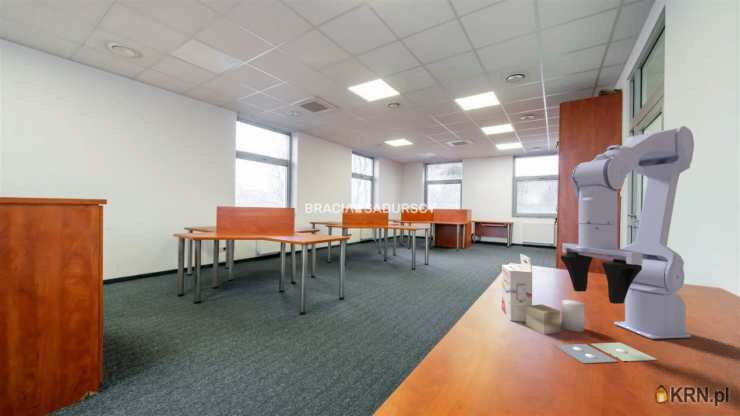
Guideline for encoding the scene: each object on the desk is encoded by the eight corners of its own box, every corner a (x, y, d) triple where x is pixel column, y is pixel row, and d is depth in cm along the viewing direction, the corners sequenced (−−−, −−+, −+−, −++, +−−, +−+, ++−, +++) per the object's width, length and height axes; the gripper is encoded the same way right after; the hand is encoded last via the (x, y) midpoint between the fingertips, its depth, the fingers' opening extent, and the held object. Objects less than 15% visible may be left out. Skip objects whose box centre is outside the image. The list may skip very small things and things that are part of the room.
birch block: (542, 324, 65) (542, 304, 65) (560, 332, 61) (560, 310, 61) (526, 326, 64) (526, 305, 64) (543, 334, 59) (543, 312, 59)
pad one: (620, 343, 56) (620, 342, 56) (657, 360, 49) (657, 358, 49) (590, 344, 55) (590, 343, 55) (623, 361, 48) (623, 360, 48)
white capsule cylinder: (573, 324, 65) (573, 299, 65) (588, 331, 61) (588, 305, 61) (557, 324, 65) (557, 300, 65) (571, 331, 61) (571, 305, 61)
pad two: (585, 344, 55) (585, 343, 55) (617, 361, 48) (617, 360, 48) (554, 345, 54) (554, 344, 54) (583, 363, 48) (583, 362, 48)
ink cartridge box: (500, 309, 75) (500, 252, 75) (521, 310, 74) (521, 253, 74) (509, 321, 66) (510, 257, 66) (533, 323, 65) (533, 258, 66)
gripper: (549, 222, 61) (549, 286, 61) (615, 225, 46) (615, 310, 46) (579, 222, 62) (579, 286, 61) (653, 225, 47) (653, 309, 47)
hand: (597, 296), depth 54 cm, fingers open, 7 cm apart
